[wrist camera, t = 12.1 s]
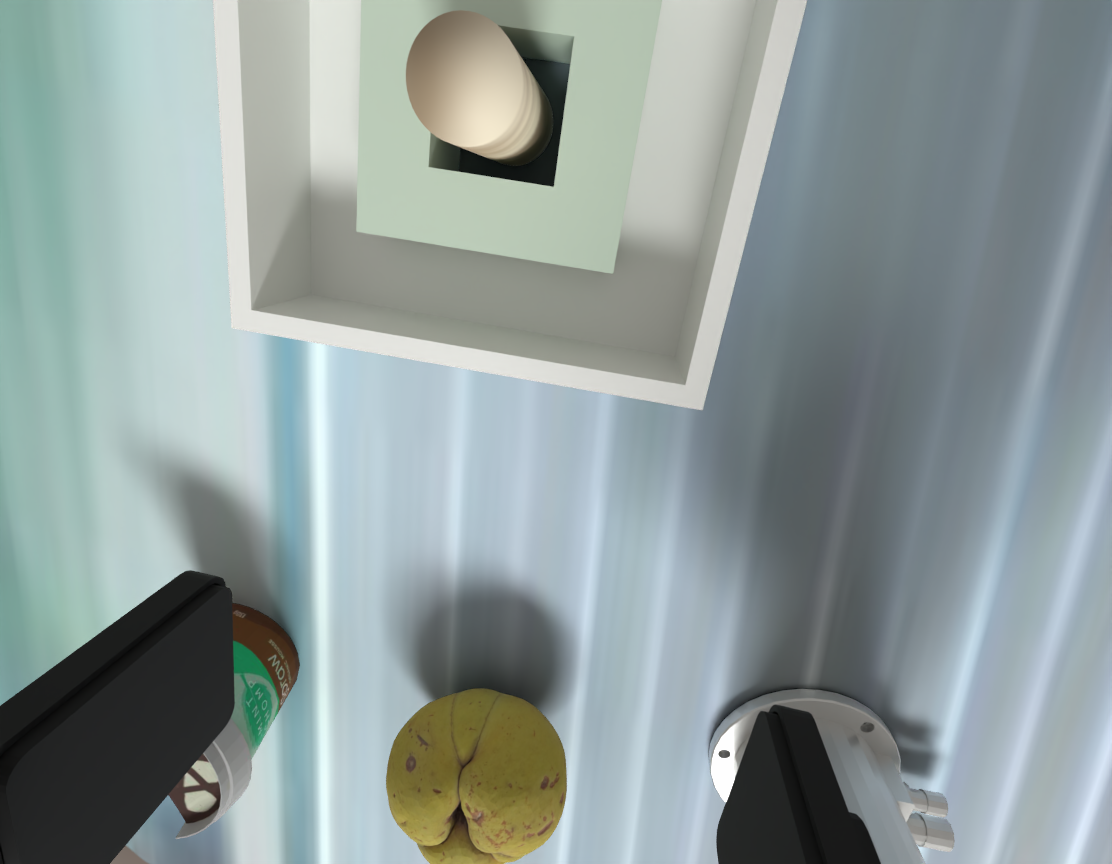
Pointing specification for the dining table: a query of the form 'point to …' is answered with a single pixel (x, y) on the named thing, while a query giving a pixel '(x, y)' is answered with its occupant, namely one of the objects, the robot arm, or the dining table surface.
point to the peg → (477, 89)
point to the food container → (239, 720)
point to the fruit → (477, 778)
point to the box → (501, 188)
